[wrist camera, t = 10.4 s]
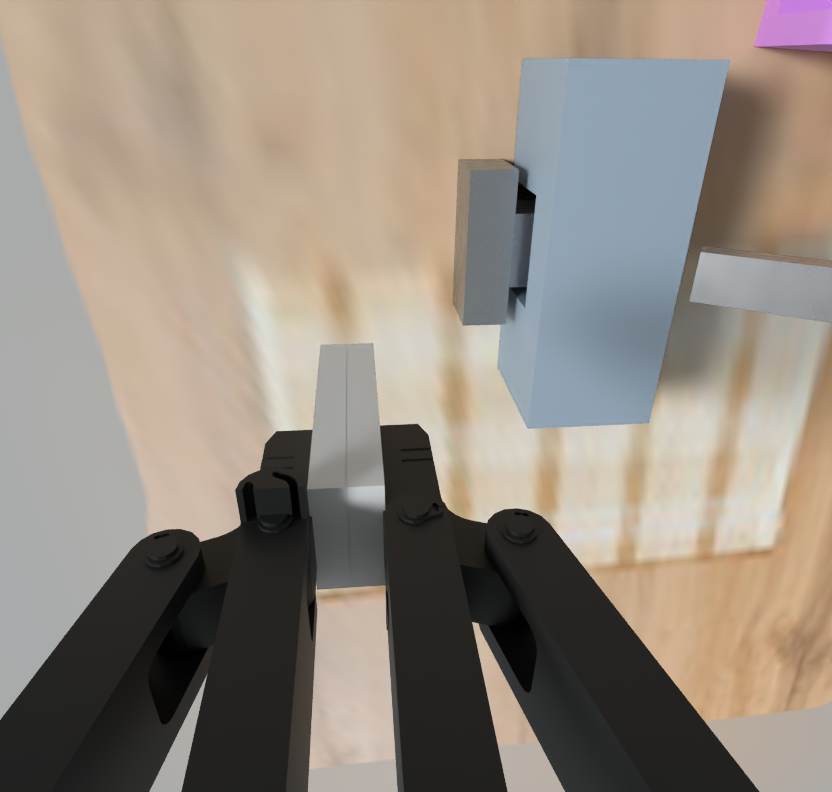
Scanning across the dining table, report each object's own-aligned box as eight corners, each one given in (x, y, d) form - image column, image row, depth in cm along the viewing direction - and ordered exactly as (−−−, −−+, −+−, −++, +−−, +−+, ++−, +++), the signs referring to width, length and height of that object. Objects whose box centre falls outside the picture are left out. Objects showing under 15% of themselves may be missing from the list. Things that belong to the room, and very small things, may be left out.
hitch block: (522, 58, 32) (569, 58, 25) (650, 59, 33) (729, 59, 26) (497, 367, 41) (527, 428, 34) (599, 363, 41) (648, 423, 35)
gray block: (458, 159, 34) (470, 170, 31) (671, 158, 35) (706, 168, 32) (452, 301, 38) (463, 325, 35) (644, 296, 40) (672, 319, 36)
